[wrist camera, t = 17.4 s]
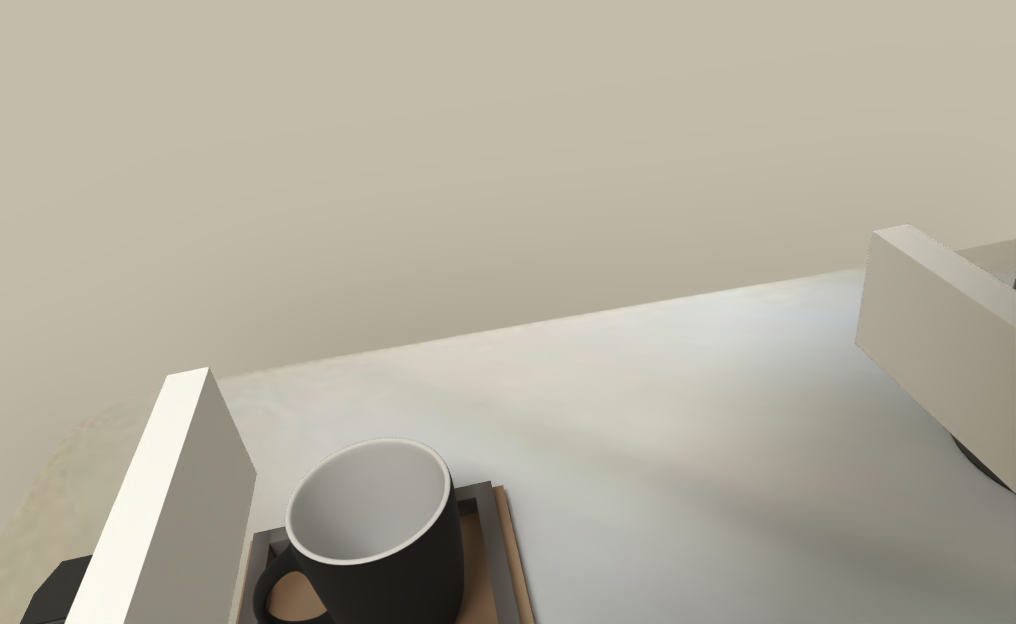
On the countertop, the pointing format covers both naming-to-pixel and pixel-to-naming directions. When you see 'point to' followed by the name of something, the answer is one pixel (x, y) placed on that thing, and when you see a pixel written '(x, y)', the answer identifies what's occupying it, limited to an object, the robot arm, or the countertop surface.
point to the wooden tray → (487, 567)
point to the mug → (374, 537)
